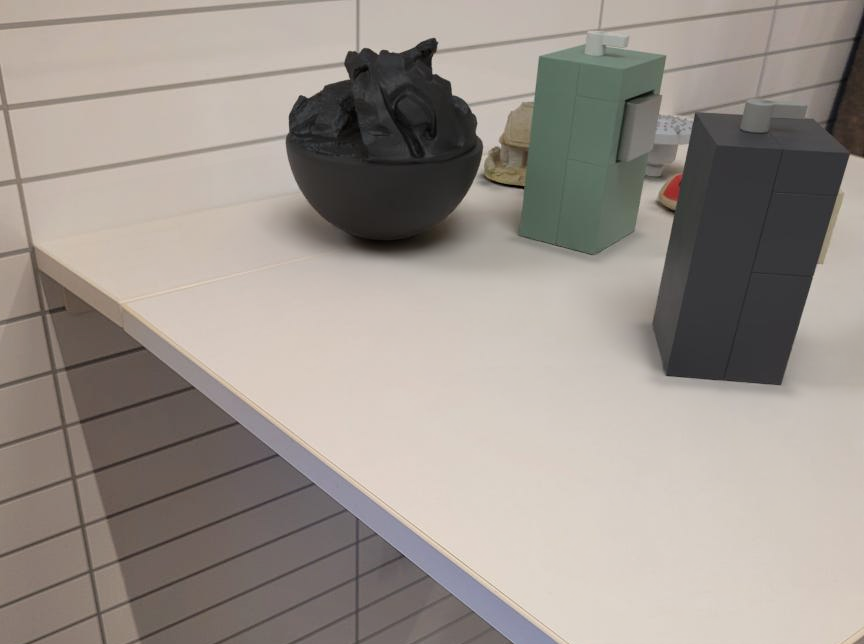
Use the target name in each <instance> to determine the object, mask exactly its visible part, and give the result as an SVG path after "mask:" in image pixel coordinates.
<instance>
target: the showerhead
mask: <svg viewBox="0 0 864 644" xmlns="http://www.w3.org/2000/svg"><path fill="white" fill-rule="evenodd" d="M692 125H693V120H688V118H686V117H685V118H681V117H680V116H674V115H671V114H668V115H666V114H663V115H662V114H661V113H659V116H658V122H657V127H656V133H655V138H654V144H653V149H652V150H651V151H649V155H648V160H647V166H646V171H645V176H648V177H655V178H656V177H657V178H658V177H661V176H662V173H663V169H664V165H669V164H672V163H673V162H675V161H676V157H677V154H678V148H679V146H680V145H681V146H682V145H689V140H690V135H691V130H692Z"/></svg>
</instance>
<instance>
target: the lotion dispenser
mask: <svg viewBox="0 0 864 644" xmlns="http://www.w3.org/2000/svg"><path fill="white" fill-rule="evenodd" d="M807 111H808V104H807V103H805V102H802V101H801V102H800V101H782V100H770V99H765V98H749V99H746V100H745V104H744V107H743V114H737V113H735V114H734V113H721V112H701V111H695V112H694V116H693V120H692V122H693V125H692V130H691V135H690V140H689V144H687V151H686V155H685V161H684V165H683V171H682V174H683V175H682V180H681V185H680V189H679V194H678V199H677V204H676V209H675V211H674V213H673V214H674V215H673V219H672V224H671V229H670V235H669V239H668V244H667V249H666V254H665V259H664V264H663V268H662V273H661V278H660V279H661V280H660V283H659V288H658V294H657V298H656V303H655V308H654V313H653V318H652V322H651V325H652V328H653V332H654V335H655V340H656V343H657V347H658V350H659V354H660V357H661V361H662V365H663V369H664V373H665V376H669V377H682V378H693V379H704V380H705V379H706V380H718V381H720V380H721V381H731V382H742V383H743V382H744V383H756V384H757V383H758V384H770V385H782V383H783V380H784V376H785V373H786V371H787V366H788V363H789V360H790V356H791V353H792V350H793V347H794V344H795V340H796V337H797V333H798V330H799V326H800V323H801V320H802V317H803V313H804V310H805V306H806V303H807V300H808V296H809V293H810V290H811V286H812V283H813V280H814V276H815V274H816V273H815V272H816V270H817V267H818V264H817V263H818V259H819V256H820V253H821V249H822V246H823V243H824V239H825V236H826V233H827V229H828V226H829V222H830V219H831V216H832V212H833V209H834V206H835V202H836V199H837V196H838V193H839V189H841V187H842V184H843V183H842V182H843V179H844V175H845V171H846V170H847V166H848V163H849V160H850V156H851V152H850V151H849V149H847V148H846V147H845V146H844V145H842V143H840V142H839V141H838V140H837V138H835V137H834V136H833V135H832V134H830V132H828V131H827V130H826V129H825V128H824V127H823V126H822V125H821V124H820V123H819V122H817V121H816V120H815V119H814V118H808V117H807V118H806V113H807Z"/></svg>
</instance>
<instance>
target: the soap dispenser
mask: <svg viewBox="0 0 864 644" xmlns="http://www.w3.org/2000/svg"><path fill="white" fill-rule="evenodd" d="M629 42H630V35H627V34H619V33H612V32H607V31H604V30H588V31H587V32H586V37H585V43H584V44H580V45H576V46H573V47H569V48H565V49H561V50H556V51H553V52H549V53H546V54H542V55H539V56H538V61H537V62H538V63H537V71H536V79H535V80H536V82H535V89H534V98H533V102H534V106H533V115H532V124H531V133H530V142H529V151H528V160H527V169H526V178H525V186H523V196H522V197H523V198H522V205H521V206H522V207H521V215H520V224H519V234H518V236H520V237H524V238H528V239H531V240H536V241H540V242H543V243H546V244H551V245H554V246H559V247H563V248H566V249H570V250H573V251H577V252H581V253H586V254H588V255H593V256H595V255H596V254H598V253H600V252H601V251H603V250H605V249H607V248H608V247H610V246H611V245H613V244H615V243H617V242H618V241H620V240H622V239H623V238H625V237H627V236H628V235H630V234H631V233H633V232H635V231H636V226H637V221H638V216H639V210H640V204H641V200H642V199H641V198H642V193H643V187H644V182H645V176H646V175H645V171H646V166H647V160H648V155H649V152H647V153H645V154H643V155H641V156H639V157H637V158H635V159H632V160H630V161H628V162H626V161H621V160H616V155H617V149H618V143H619V136H620V130H621V124H622V118H623V112H624V106H625V102H627V101H630V100H633V99H635V98H638V97H641V96H643V95H646V94H649V93H653V94H659V95H661V89H662V88H661V87H662V83H663V78H664V73H665V72H664V71H665V66H666V61H667V54H660V53H655V52H654V53H652V52H647V51H639V50H631V49H625V48H628V47H629Z"/></svg>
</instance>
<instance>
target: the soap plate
mask: <svg viewBox="0 0 864 644" xmlns="http://www.w3.org/2000/svg"><path fill="white" fill-rule="evenodd" d="M662 100H663V95H662V94H653V93H649V94H646V95H643V96H641V97H638V98H635V99H633V100H630V101H627V102H625V106H624V112H623V118H622V124H621V130H620V136H619V143H618V149H617V155H616V160H621V161H626V162H628V161H630V160H632V159H635V158H637V157H639V156H641V155H643V154H645V153H647V152H649V151H651V150H652V149H653V144H654V138H655V133H656V127H657V122H658V116H659V114H660V110H661V106H662V105H661V104H662Z"/></svg>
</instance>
